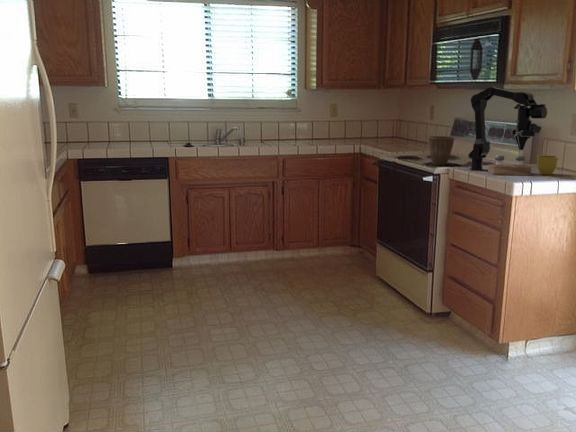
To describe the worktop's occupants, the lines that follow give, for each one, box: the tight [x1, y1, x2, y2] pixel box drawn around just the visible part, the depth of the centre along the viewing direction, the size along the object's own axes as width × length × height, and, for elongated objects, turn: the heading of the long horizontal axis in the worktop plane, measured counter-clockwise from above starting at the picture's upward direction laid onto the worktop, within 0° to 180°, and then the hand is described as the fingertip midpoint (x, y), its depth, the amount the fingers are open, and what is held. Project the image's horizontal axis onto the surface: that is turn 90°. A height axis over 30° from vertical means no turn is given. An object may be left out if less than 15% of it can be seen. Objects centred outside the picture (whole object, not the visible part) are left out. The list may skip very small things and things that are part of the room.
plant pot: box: [427, 135, 455, 166], centre depth 319 cm, size 15×15×16 cm
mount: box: [487, 164, 532, 176], centre depth 276 cm, size 10×18×4 cm, turn 84°
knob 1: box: [494, 154, 506, 166], centre depth 276 cm, size 4×4×6 cm
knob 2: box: [515, 155, 526, 166], centre depth 275 cm, size 4×4×6 cm
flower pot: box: [537, 154, 558, 176], centre depth 274 cm, size 9×9×9 cm
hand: (521, 149), depth 273 cm, fingers closed
